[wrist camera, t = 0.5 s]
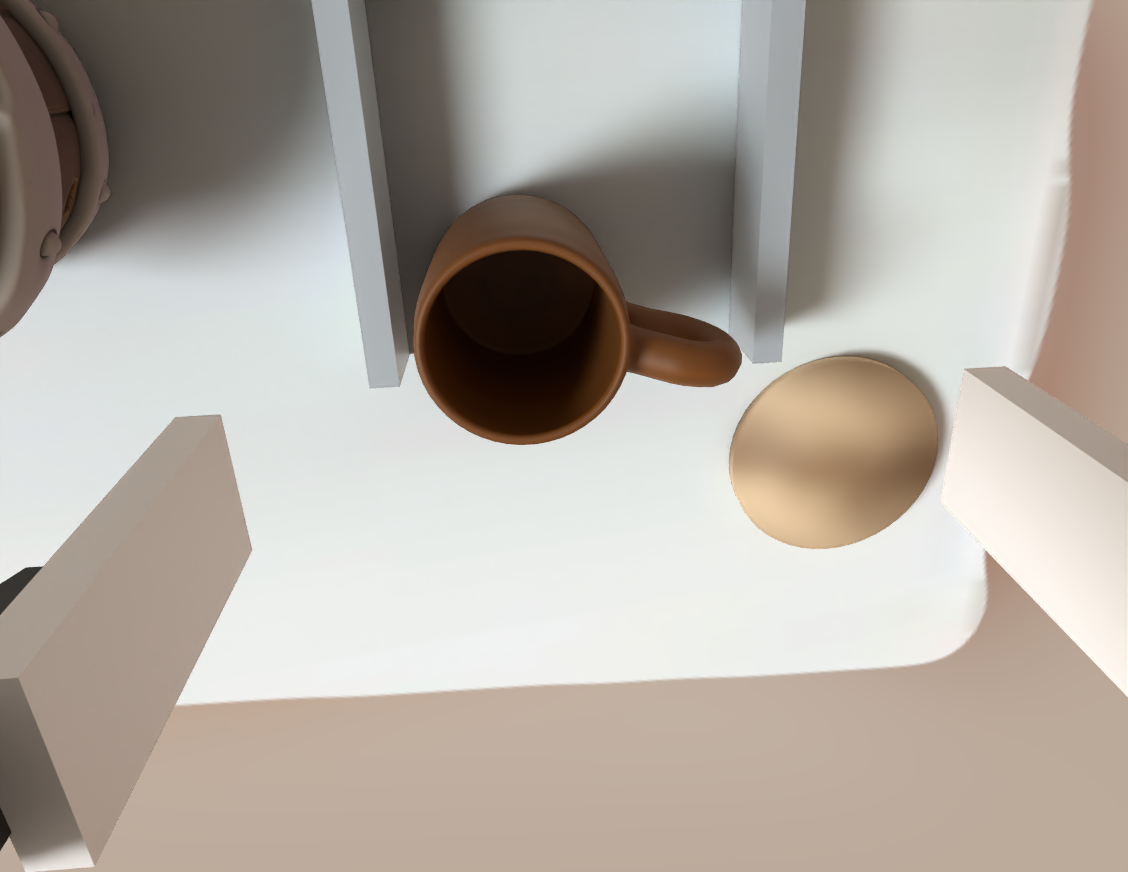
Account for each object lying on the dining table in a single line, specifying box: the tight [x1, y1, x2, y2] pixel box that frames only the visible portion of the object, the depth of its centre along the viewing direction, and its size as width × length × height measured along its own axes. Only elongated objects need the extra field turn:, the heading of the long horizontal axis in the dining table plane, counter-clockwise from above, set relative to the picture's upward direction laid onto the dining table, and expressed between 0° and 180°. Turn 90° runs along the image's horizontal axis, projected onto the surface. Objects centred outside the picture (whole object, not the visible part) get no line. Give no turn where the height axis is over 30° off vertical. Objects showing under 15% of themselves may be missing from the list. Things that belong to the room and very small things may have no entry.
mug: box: [413, 195, 742, 445], centre depth 32 cm, size 12×8×9 cm, turn 80°
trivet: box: [729, 356, 938, 549], centre depth 41 cm, size 10×10×1 cm
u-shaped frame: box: [311, 0, 806, 388], centre depth 32 cm, size 17×17×4 cm
